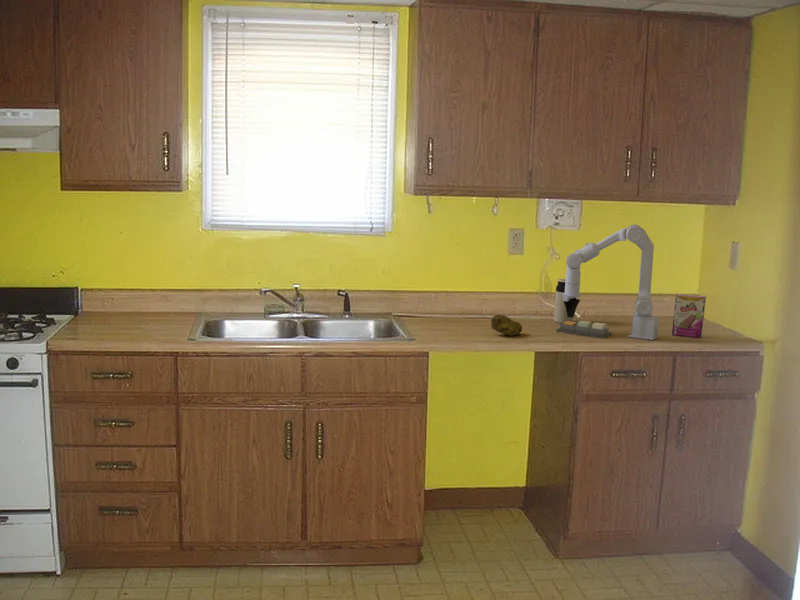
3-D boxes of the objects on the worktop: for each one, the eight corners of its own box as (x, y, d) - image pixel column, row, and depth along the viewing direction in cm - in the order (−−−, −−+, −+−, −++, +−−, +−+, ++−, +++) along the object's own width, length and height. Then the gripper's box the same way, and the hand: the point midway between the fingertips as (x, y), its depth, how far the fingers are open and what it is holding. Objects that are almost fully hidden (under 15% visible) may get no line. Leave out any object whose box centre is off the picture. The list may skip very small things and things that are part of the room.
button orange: (576, 327, 330) (576, 322, 330) (572, 328, 327) (572, 323, 326) (566, 325, 332) (567, 321, 332) (563, 327, 329) (563, 322, 329)
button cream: (605, 328, 324) (605, 323, 323) (602, 330, 320) (602, 325, 320) (595, 327, 326) (596, 322, 325) (592, 328, 322) (592, 323, 322)
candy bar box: (671, 335, 328) (675, 294, 325) (673, 333, 332) (676, 293, 330) (701, 338, 323) (705, 297, 321) (702, 336, 328) (706, 296, 325)
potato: (525, 337, 315) (526, 316, 314) (492, 337, 314) (493, 316, 312) (520, 333, 323) (521, 313, 322) (487, 332, 322) (488, 312, 321)
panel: (611, 334, 326) (611, 327, 325) (603, 338, 317) (603, 330, 317) (565, 328, 336) (566, 321, 335) (556, 332, 327) (556, 324, 327)
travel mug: (562, 324, 344) (565, 281, 342) (550, 321, 351) (552, 279, 348) (576, 323, 348) (579, 280, 346) (564, 319, 355) (566, 278, 352)
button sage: (590, 326, 327) (591, 321, 326) (587, 328, 323) (587, 323, 323) (581, 325, 329) (581, 320, 329) (577, 326, 326) (577, 321, 325)
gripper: (569, 280, 335) (567, 313, 337) (556, 284, 323) (554, 318, 325) (586, 282, 331) (584, 315, 333) (573, 286, 319) (571, 320, 321)
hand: (570, 317), depth 329 cm, fingers closed
